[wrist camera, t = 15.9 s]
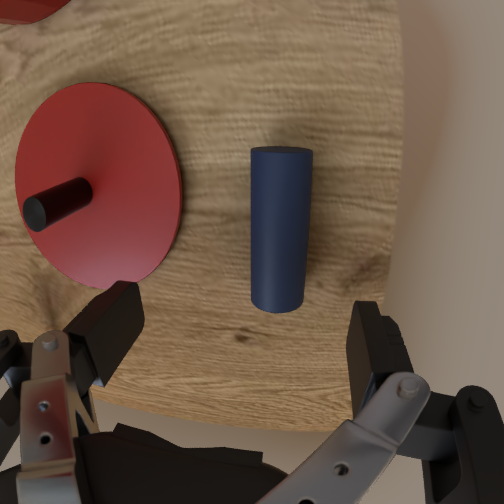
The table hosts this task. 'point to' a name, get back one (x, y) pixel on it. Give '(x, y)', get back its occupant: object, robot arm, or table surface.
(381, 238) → the table surface
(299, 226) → the tube
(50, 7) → the pot
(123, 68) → the table surface
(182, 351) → the table surface
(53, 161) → the pot lid
